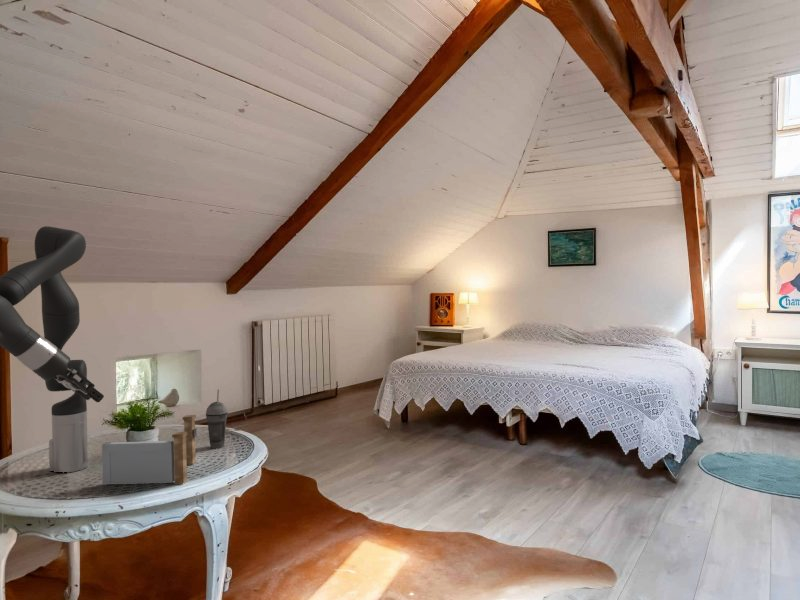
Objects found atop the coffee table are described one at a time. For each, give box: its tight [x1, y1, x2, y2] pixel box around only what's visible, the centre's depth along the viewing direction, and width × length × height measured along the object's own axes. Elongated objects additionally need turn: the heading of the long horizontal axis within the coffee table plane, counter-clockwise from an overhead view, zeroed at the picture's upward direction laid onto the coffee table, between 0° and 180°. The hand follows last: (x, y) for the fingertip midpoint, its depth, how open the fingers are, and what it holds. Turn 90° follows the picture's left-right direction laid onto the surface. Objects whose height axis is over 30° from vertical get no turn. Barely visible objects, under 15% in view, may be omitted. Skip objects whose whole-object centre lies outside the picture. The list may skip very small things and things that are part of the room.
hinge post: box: [171, 431, 188, 485], centre depth 149 cm, size 3×3×14 cm
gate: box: [101, 440, 175, 485], centre depth 149 cm, size 19×2×11 cm, turn 91°
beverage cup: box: [205, 389, 229, 450], centre depth 186 cm, size 7×7×20 cm
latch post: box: [182, 414, 198, 466], centre depth 167 cm, size 3×3×15 cm
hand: (95, 398), depth 141 cm, fingers open, 6 cm apart
